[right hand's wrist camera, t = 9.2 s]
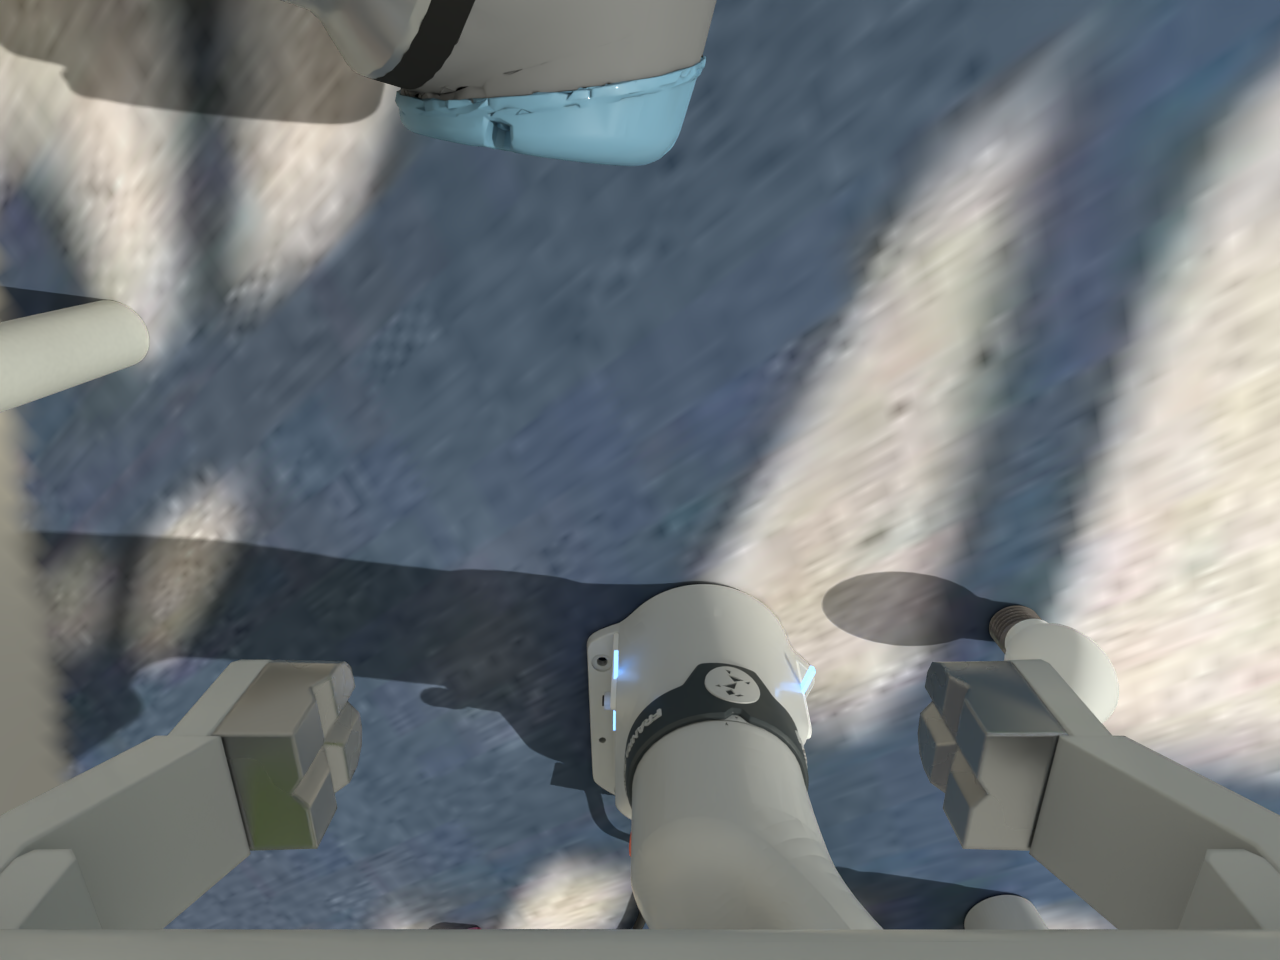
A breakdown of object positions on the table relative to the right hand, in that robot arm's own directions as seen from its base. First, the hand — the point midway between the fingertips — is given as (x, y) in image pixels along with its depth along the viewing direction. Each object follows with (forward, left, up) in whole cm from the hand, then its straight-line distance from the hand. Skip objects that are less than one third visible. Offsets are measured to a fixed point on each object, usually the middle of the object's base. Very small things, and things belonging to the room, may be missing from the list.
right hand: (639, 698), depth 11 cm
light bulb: (-20, -34, -43) cm, 58 cm away
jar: (-9, +35, -43) cm, 56 cm away
